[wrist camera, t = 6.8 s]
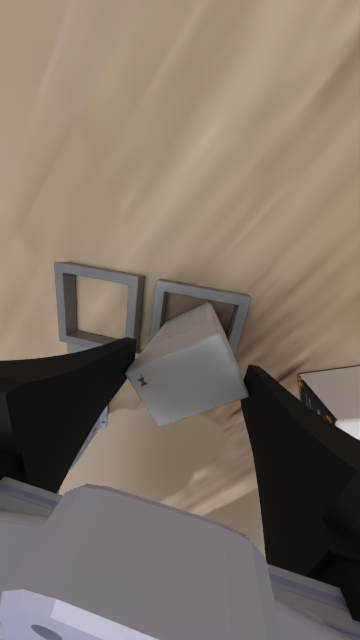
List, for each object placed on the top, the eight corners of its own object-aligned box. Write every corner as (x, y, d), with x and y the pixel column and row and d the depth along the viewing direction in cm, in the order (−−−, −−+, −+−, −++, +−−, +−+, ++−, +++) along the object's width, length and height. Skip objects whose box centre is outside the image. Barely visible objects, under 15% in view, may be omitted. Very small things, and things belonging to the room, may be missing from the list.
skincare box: (181, 349, 22) (155, 430, 11) (166, 320, 21) (120, 372, 10) (226, 330, 21) (252, 399, 9) (210, 299, 20) (218, 329, 8)
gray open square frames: (221, 384, 23) (222, 395, 21) (71, 350, 25) (60, 356, 23) (247, 294, 19) (251, 297, 17) (67, 262, 21) (53, 261, 19)
